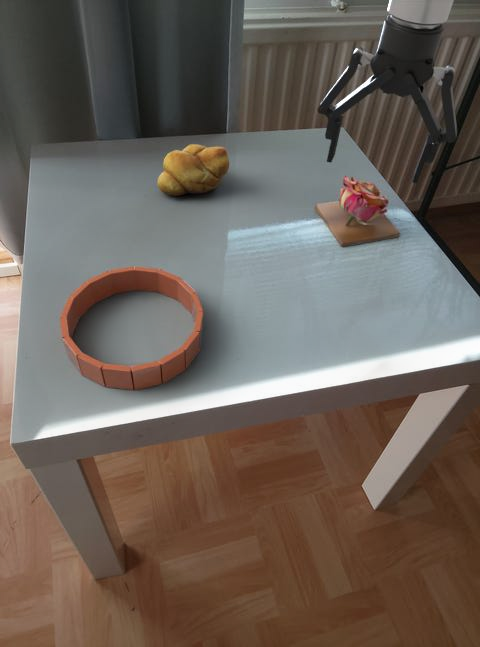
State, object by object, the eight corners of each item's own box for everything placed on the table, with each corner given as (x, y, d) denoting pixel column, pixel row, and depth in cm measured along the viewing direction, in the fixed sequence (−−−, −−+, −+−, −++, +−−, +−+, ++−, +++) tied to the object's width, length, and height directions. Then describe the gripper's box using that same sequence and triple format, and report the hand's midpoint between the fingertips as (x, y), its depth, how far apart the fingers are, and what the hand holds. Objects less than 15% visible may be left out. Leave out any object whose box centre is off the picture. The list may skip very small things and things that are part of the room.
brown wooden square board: (398, 237, 86) (400, 233, 85) (341, 247, 83) (342, 243, 83) (368, 199, 93) (369, 196, 92) (314, 208, 90) (315, 204, 89)
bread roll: (166, 207, 87) (164, 166, 81) (147, 178, 93) (144, 137, 87) (233, 192, 92) (235, 151, 86) (211, 164, 97) (212, 125, 91)
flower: (367, 240, 81) (396, 196, 78) (318, 210, 82) (346, 166, 80) (370, 238, 90) (396, 199, 87) (326, 211, 91) (351, 171, 89)
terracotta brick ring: (228, 343, 68) (230, 324, 65) (112, 414, 60) (107, 396, 57) (153, 270, 77) (152, 250, 74) (42, 323, 68) (35, 303, 65)
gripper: (517, 27, 64) (453, 175, 80) (327, -7, 69) (302, 139, 84) (518, 47, 59) (450, 200, 75) (313, 9, 64) (290, 161, 80)
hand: (372, 168), depth 80 cm, fingers open, 13 cm apart
